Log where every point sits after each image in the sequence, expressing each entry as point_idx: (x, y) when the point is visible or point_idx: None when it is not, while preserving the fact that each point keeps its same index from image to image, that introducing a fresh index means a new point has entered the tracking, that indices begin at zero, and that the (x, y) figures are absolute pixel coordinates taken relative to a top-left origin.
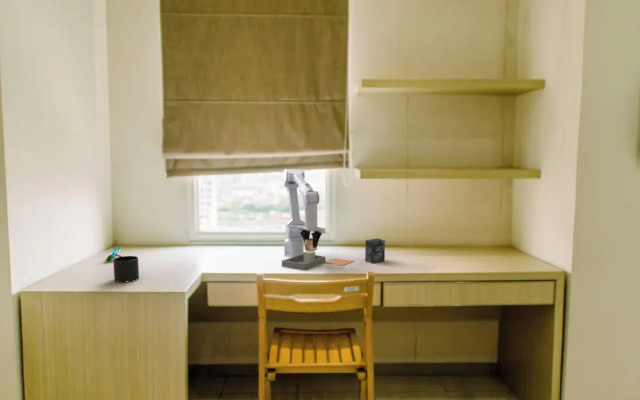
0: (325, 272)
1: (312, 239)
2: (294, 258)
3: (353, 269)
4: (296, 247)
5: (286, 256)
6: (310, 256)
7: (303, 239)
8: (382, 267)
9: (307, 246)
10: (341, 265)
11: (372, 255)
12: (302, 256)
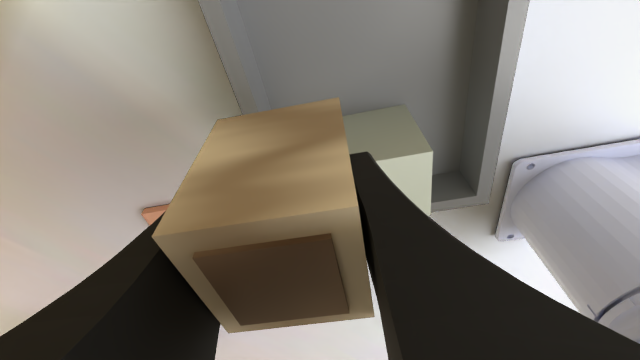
0: (23, 8)
1: (236, 291)
2: (491, 55)
3: (49, 204)
4: (596, 224)
5: (635, 140)
6: None
7: (420, 213)
8: (41, 296)
9: (289, 137)
10: (152, 210)
11: None
12: (472, 167)
